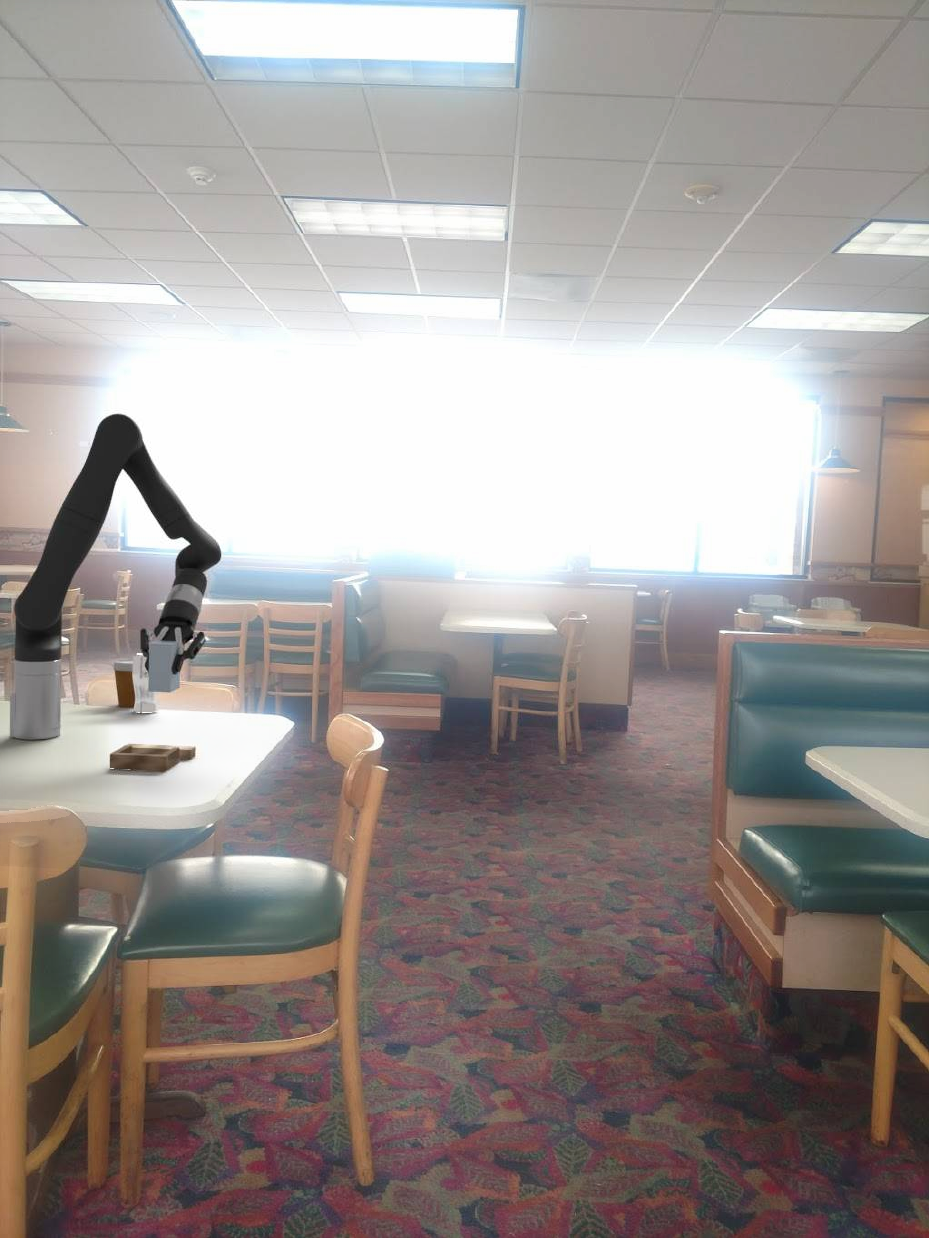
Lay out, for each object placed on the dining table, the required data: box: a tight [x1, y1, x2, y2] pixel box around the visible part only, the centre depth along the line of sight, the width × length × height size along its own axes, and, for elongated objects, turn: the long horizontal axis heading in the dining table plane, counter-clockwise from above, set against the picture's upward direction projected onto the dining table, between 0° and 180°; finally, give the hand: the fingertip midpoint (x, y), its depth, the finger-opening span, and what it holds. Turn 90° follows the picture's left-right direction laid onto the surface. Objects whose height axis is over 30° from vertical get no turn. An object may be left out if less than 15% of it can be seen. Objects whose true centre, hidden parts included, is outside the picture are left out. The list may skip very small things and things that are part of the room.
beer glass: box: [132, 653, 159, 713], centre depth 216 cm, size 7×7×15 cm
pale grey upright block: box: [148, 641, 181, 693], centre depth 173 cm, size 4×6×10 cm
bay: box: [109, 744, 180, 772], centre depth 164 cm, size 11×8×3 cm
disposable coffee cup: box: [112, 658, 135, 708], centre depth 225 cm, size 10×10×12 cm
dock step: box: [126, 743, 196, 760], centre depth 172 cm, size 14×3×2 cm, turn 90°
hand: (161, 671), depth 171 cm, fingers closed on pale grey upright block, 4 cm apart
